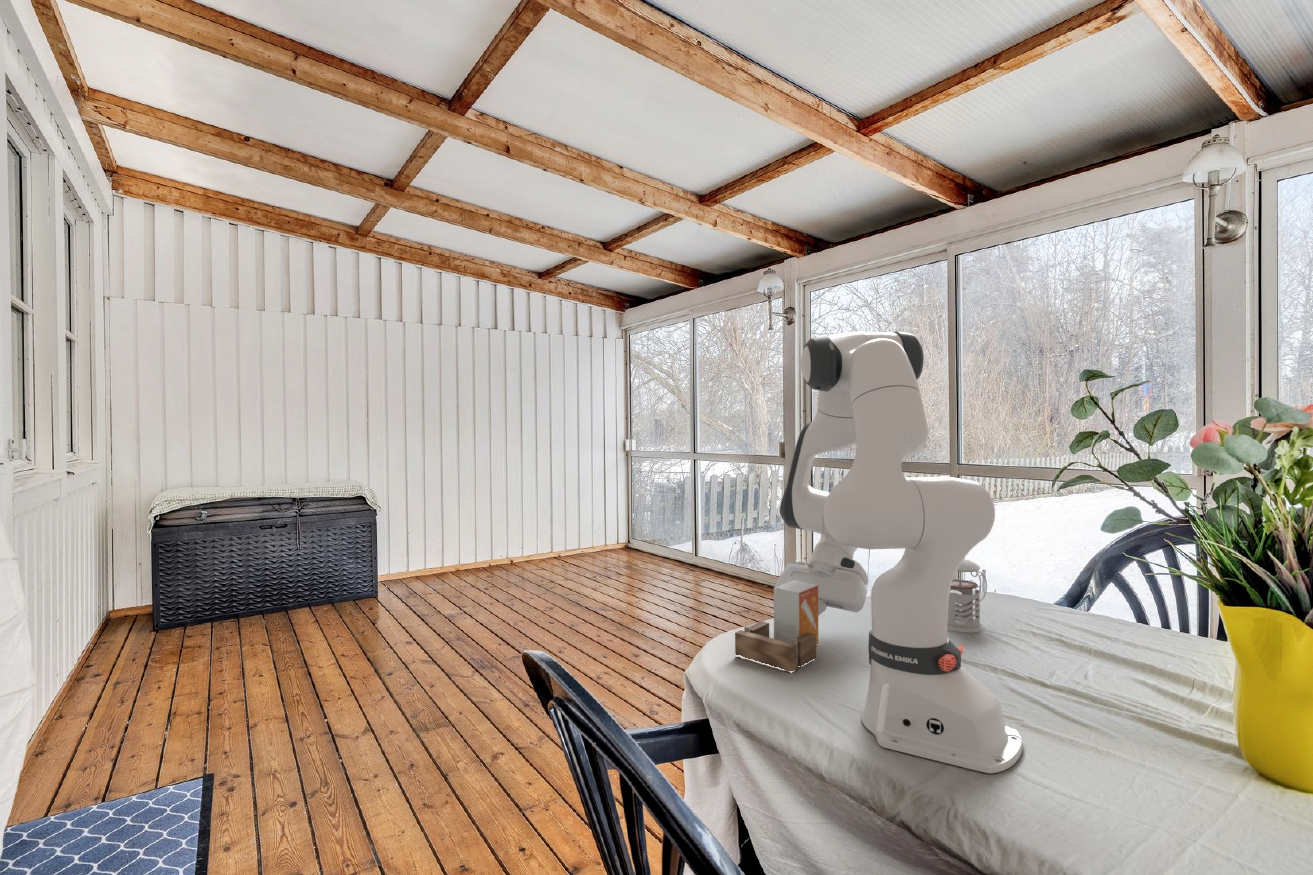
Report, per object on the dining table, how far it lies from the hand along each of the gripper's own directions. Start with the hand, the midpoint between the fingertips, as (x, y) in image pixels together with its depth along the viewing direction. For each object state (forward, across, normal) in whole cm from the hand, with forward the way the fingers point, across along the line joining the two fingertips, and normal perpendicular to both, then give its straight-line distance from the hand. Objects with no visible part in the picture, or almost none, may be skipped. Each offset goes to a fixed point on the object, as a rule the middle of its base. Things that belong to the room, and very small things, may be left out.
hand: (807, 619), depth 138 cm
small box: (+7, 0, 0) cm, 7 cm away
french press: (-19, +22, +26) cm, 39 cm away
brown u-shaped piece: (+12, 0, -6) cm, 13 cm away
